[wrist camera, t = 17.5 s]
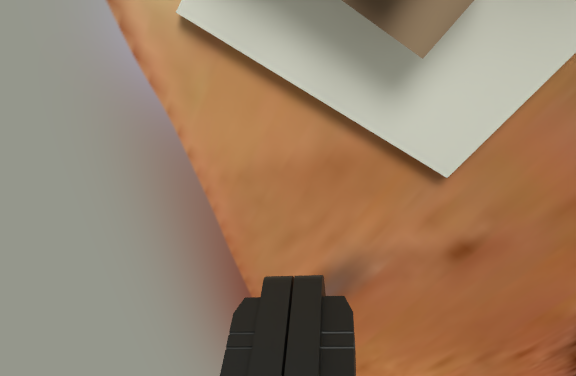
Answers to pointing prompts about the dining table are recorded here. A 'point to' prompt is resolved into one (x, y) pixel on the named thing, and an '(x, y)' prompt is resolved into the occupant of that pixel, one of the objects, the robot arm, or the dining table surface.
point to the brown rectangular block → (412, 19)
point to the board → (404, 65)
